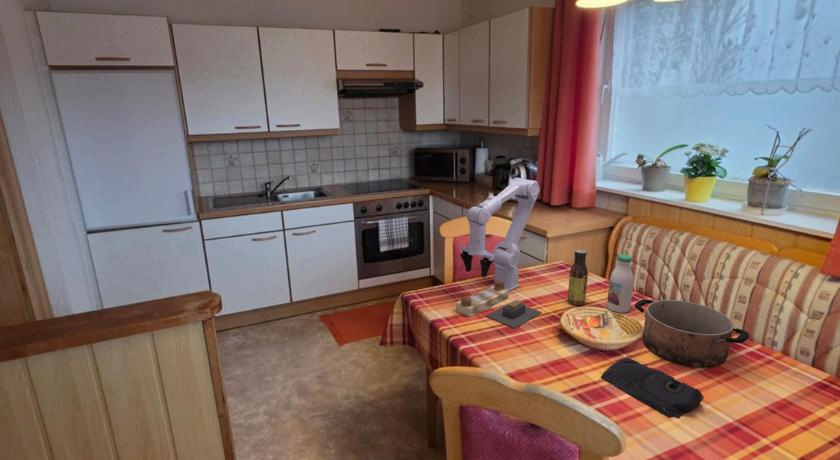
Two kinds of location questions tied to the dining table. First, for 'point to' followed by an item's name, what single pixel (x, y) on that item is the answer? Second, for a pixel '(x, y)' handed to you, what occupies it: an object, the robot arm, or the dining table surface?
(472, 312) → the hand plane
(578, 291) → the sauce bottle
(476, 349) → the dining table surface
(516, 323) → the rubber mat
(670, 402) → the black flat holed part
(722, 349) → the cooking pot
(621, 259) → the milk bottle
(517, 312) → the lever cap
